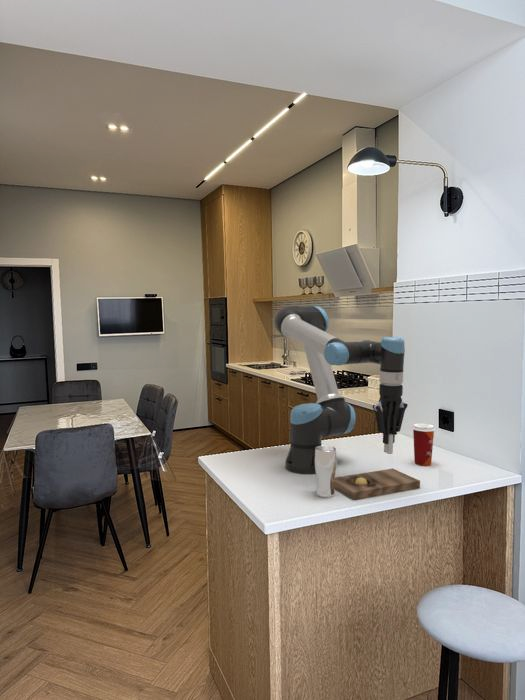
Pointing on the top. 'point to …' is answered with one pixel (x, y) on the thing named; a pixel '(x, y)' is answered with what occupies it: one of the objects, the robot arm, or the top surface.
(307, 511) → the top surface
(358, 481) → the ball
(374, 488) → the board
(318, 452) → the beer glass
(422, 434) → the coffee cup
